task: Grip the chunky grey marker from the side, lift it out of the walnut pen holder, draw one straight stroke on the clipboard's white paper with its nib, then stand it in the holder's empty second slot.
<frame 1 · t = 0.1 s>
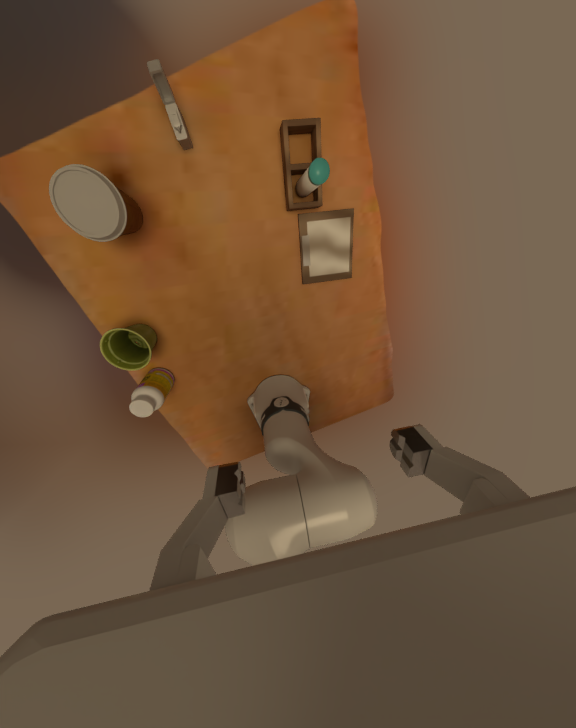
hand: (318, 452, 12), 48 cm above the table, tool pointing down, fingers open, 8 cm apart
pen holder: (300, 171, 44), on the table
plant pot: (143, 335, 54), on the table
supplement bottle: (161, 377, 60), on the table
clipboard: (326, 248, 52), on the table
lighter: (179, 122, 39), on the table
marker: (301, 189, 46), resting in pen holder
disposable coffee cup: (125, 213, 44), on the table
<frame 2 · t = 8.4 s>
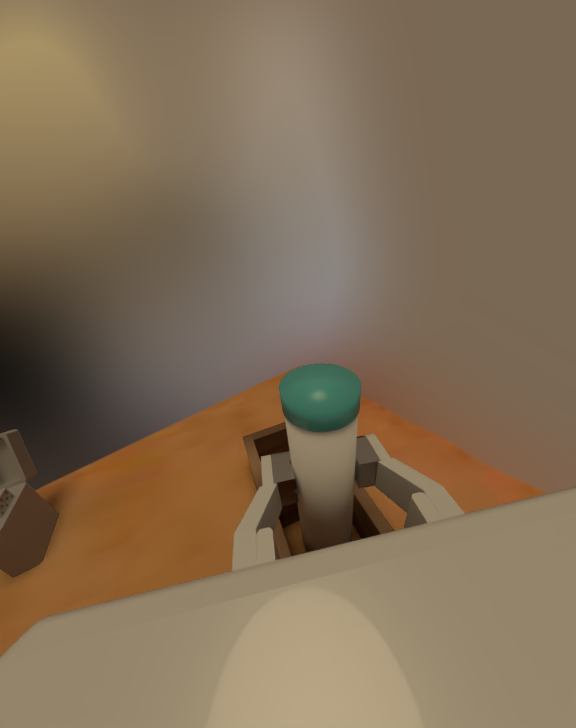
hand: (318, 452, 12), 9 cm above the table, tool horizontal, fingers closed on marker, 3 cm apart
pen holder: (308, 509, 18), on the table
lighter: (45, 525, 19), on the table
marker: (327, 550, 15), resting in pen holder, touching gripper
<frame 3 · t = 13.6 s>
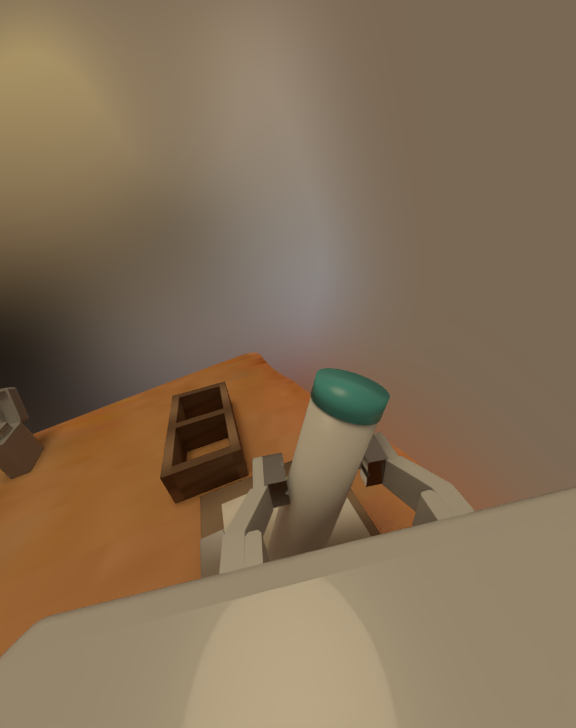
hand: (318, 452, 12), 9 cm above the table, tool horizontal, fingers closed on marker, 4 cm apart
pen holder: (209, 441, 26), on the table
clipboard: (295, 559, 16), on the table
lighter: (34, 454, 28), on the table
marker: (283, 579, 14), point 1 cm above the table, tilted 21°, touching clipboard, gripper
when the fingers open (10 cm above the table, at t = 18.9 s): marker stays where it is, resting in pen holder.
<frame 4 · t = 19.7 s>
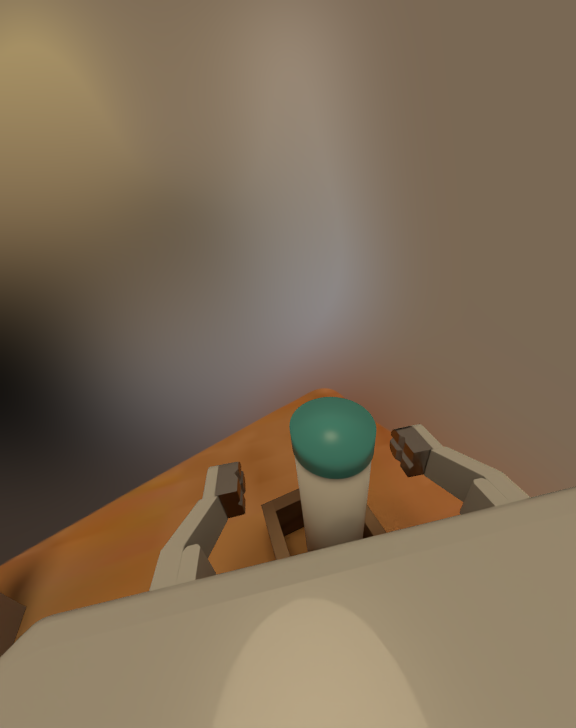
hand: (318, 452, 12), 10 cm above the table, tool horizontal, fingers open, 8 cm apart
pen holder: (352, 614, 13), on the table
lighter: (7, 625, 15), on the table
marker: (333, 575, 15), resting in pen holder
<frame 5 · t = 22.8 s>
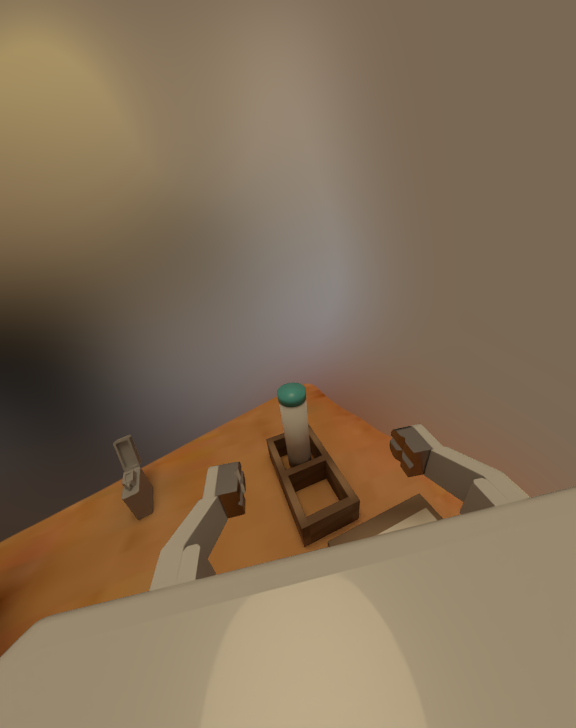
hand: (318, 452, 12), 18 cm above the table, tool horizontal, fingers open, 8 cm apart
pen holder: (307, 482, 30), on the table
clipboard: (432, 601, 19), on the table
lighter: (146, 493, 31), on the table
marker: (301, 470, 31), resting in pen holder
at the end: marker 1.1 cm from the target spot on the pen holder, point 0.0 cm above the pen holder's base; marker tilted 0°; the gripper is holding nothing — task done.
